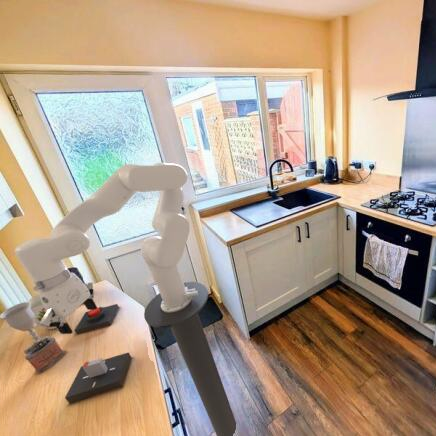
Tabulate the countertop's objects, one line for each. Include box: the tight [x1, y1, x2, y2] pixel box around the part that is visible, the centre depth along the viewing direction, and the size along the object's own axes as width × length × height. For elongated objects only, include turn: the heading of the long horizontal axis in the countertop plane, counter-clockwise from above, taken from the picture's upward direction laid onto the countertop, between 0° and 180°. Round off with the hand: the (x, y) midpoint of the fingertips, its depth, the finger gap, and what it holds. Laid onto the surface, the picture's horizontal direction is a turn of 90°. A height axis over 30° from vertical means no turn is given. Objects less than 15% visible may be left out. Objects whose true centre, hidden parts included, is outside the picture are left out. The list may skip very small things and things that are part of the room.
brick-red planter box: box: [23, 335, 66, 374], centre depth 83 cm, size 8×3×10 cm, turn 159°
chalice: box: [0, 301, 43, 344], centre depth 89 cm, size 7×7×18 cm
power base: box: [73, 303, 120, 335], centre depth 100 cm, size 12×10×4 cm
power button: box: [87, 306, 101, 317], centre depth 99 cm, size 4×4×2 cm
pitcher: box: [26, 293, 70, 330], centre depth 99 cm, size 11×18×14 cm, turn 137°
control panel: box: [64, 352, 133, 405], centre depth 77 cm, size 14×10×3 cm
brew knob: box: [82, 357, 108, 378], centre depth 75 cm, size 4×2×5 cm, turn 106°
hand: (80, 320), depth 80 cm, fingers open, 9 cm apart
